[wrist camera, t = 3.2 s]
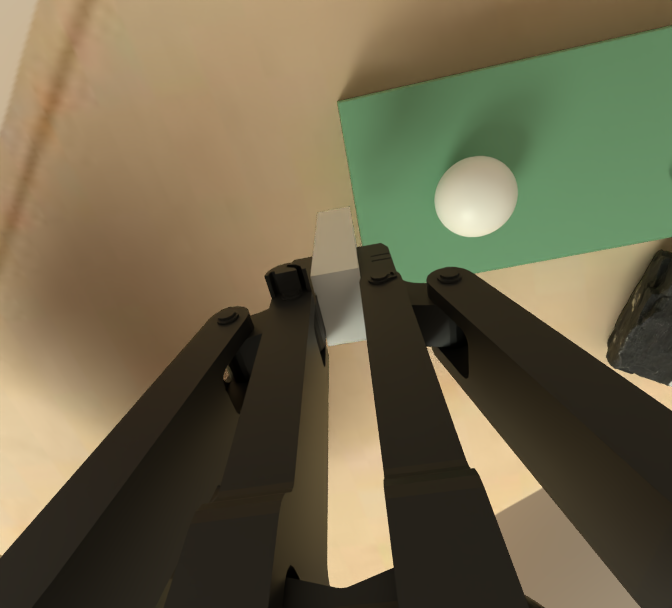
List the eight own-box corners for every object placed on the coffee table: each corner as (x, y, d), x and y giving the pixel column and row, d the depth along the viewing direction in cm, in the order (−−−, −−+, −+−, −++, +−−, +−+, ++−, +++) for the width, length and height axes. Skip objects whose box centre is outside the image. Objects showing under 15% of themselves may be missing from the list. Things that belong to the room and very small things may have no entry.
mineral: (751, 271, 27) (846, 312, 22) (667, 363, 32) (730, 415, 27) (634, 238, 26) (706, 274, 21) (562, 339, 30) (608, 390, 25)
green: (366, 272, 27) (376, 317, 21) (337, 101, 21) (340, 105, 16) (787, 193, 24) (912, 221, 19) (875, -22, 19) (1083, -63, 14)
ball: (429, 229, 22) (448, 255, 18) (423, 159, 20) (444, 173, 16) (497, 215, 22) (530, 240, 18) (499, 143, 20) (536, 154, 16)
